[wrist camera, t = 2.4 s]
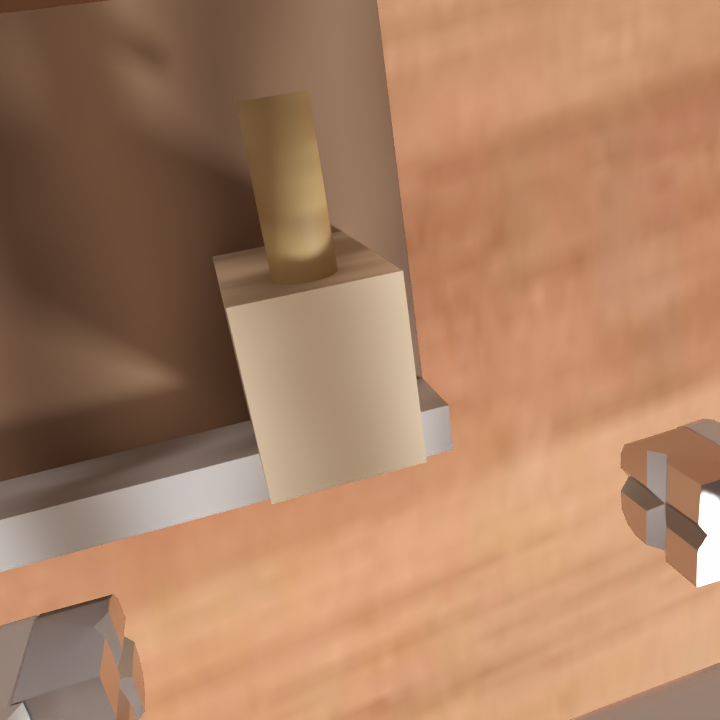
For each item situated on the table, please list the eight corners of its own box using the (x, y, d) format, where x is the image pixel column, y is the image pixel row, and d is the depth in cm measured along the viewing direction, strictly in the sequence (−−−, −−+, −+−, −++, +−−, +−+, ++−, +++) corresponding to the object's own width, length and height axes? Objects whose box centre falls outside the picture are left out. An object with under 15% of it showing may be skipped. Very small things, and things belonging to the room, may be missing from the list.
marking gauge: (320, 92, 19) (379, 79, 13) (364, 378, 22) (426, 462, 17) (178, 114, 18) (179, 109, 12) (247, 406, 21) (271, 504, 16)
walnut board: (355, -18, 20) (400, -54, 16) (408, 397, 25) (453, 449, 21) (-524, 91, 16) (-764, 80, 12) (-241, 560, 21) (-339, 663, 17)
